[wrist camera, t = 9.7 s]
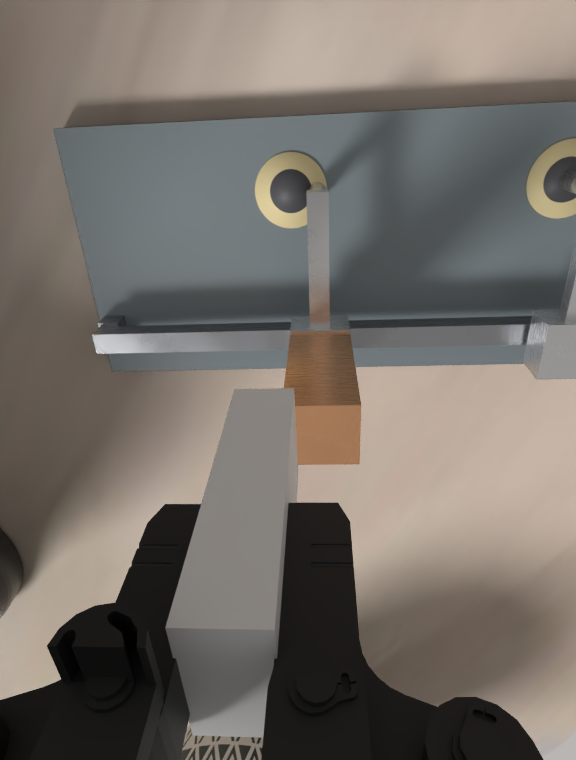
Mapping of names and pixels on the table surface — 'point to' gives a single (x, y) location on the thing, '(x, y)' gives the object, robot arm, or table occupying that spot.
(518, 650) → the table surface
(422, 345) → the rail
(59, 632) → the robot arm
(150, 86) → the table surface
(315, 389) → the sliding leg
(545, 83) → the table surface
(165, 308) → the gauge board
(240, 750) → the planter
